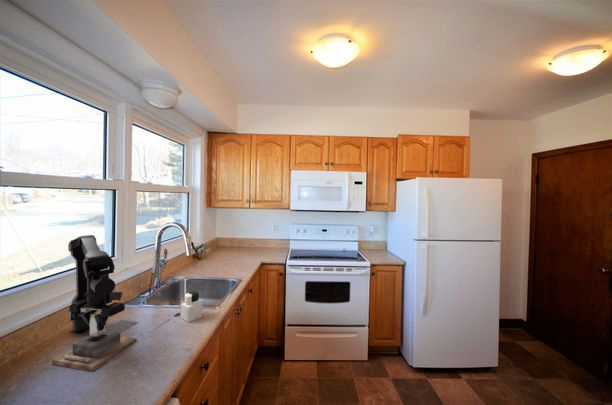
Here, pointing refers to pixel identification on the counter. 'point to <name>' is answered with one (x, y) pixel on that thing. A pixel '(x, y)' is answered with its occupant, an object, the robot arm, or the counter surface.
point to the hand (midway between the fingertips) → (97, 329)
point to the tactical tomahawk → (166, 321)
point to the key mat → (121, 326)
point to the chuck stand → (94, 351)
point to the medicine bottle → (191, 307)
